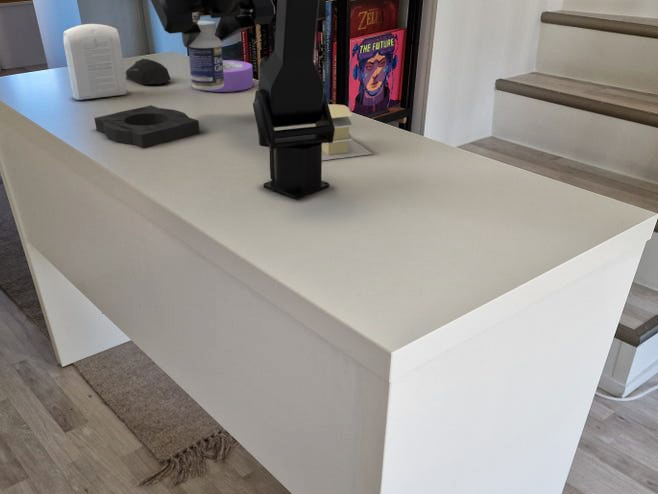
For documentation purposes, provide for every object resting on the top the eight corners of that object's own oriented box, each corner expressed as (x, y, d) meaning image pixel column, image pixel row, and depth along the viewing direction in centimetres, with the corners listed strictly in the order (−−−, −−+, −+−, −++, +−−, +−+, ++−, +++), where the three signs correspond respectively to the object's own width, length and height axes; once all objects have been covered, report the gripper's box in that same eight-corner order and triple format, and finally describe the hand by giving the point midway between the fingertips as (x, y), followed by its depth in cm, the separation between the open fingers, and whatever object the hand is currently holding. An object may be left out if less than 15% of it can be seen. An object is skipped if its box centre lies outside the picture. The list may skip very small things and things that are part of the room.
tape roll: (209, 77, 140) (207, 57, 138) (261, 81, 138) (260, 61, 136) (185, 90, 131) (183, 69, 129) (240, 94, 129) (239, 73, 126)
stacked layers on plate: (372, 154, 101) (374, 116, 97) (317, 161, 98) (318, 122, 94) (345, 135, 108) (346, 100, 105) (293, 141, 105) (293, 105, 102)
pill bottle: (222, 91, 109) (217, 25, 104) (189, 90, 109) (182, 24, 104) (226, 83, 114) (222, 20, 108) (195, 83, 114) (189, 19, 108)
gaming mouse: (139, 70, 145) (137, 50, 142) (177, 83, 136) (174, 62, 134) (113, 75, 141) (110, 54, 139) (149, 88, 132) (147, 66, 130)
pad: (205, 131, 109) (204, 119, 108) (137, 150, 101) (135, 136, 100) (157, 115, 116) (155, 103, 115) (89, 131, 108) (87, 119, 107)
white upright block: (123, 90, 131) (112, 20, 123) (131, 95, 128) (120, 23, 120) (70, 97, 126) (56, 24, 119) (77, 102, 123) (63, 28, 116)
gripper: (262, -80, 100) (230, -4, 114) (146, -79, 91) (126, 4, 105) (293, -16, 100) (257, 53, 113) (180, -8, 90) (155, 66, 104)
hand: (200, 42), depth 109 cm, fingers closed on pill bottle, 5 cm apart
